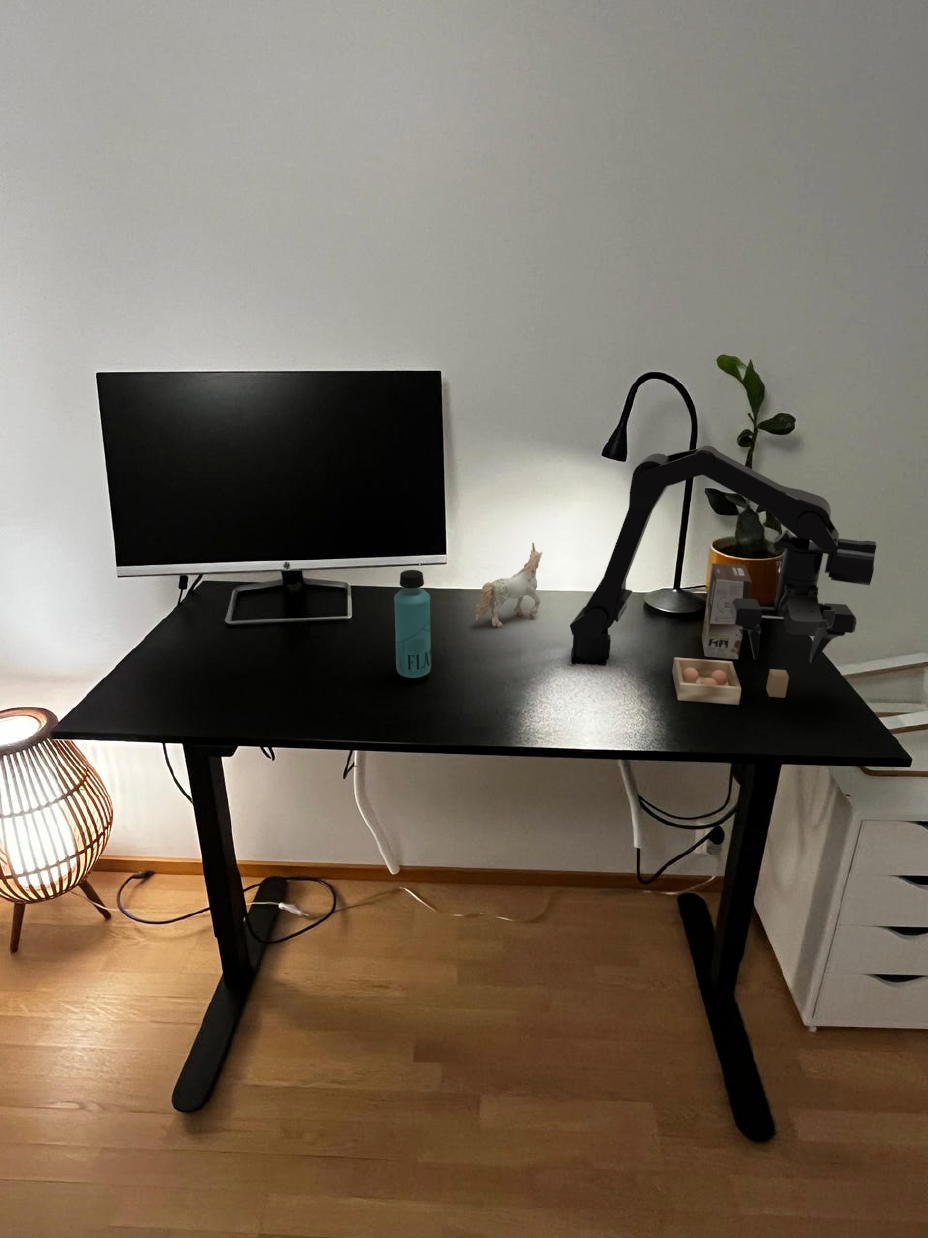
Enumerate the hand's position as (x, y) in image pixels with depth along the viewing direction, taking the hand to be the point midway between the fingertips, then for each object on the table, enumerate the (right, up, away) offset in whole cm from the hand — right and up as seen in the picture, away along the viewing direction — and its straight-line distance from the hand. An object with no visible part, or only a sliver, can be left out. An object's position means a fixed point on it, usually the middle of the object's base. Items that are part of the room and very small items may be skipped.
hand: (783, 661), depth 137 cm
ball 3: (-9, -4, +5) cm, 12 cm away
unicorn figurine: (-45, +8, +33) cm, 57 cm away
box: (-12, -5, +4) cm, 14 cm away
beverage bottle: (-63, -3, +8) cm, 64 cm away
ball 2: (-12, -6, +2) cm, 13 cm away
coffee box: (-5, +1, +19) cm, 20 cm away
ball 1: (-14, -4, +6) cm, 16 cm away
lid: (0, -7, +3) cm, 7 cm away
